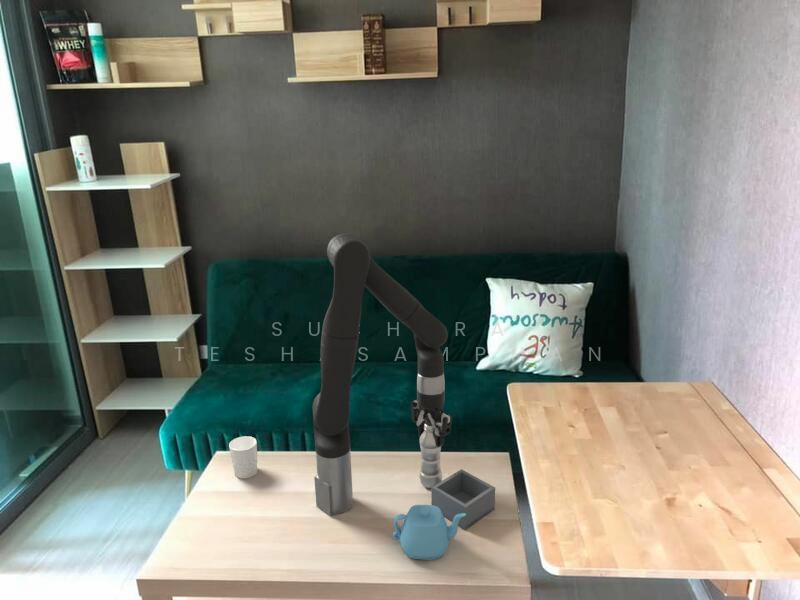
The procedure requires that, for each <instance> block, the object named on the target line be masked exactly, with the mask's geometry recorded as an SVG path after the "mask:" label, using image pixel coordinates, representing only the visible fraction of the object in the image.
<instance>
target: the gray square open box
mask: <svg viewBox="0 0 800 600" xmlns="http://www.w3.org/2000/svg"><path fill="white" fill-rule="evenodd" d="M431 505H433V506H437V507H438V508H439V509H440V510H441V512H442V514H443V516H444V518H445V520H448V521H449V522H451V524H452V523H453V519H454V517H455V516H456V515H457V514H460V513H466V515H465V516H463V517H462V518H461V519H460V520H459V523H458V528H461V529H462V530H463V531H466V530H467V529H470V527H472V526H473V525H475V524H476V523H477V522H479V521H481V520H482V519H483V518H485V517H486V516H488V515H489V514H491V513H492V512H494V511H495V507H496V487H495V486H493V485H491V484H490V483H488V482H485V481H484V480H482V479H481V478H479V477H477V476H475V475H473V474H471V473H469V472H467V471H466V470H464V469H463V468H462V469H459V470H458V471H456V472H454V473H453V474H451V475H450V476H448V477H446V478H444V479H442V481H441V482H439V483H438V484H436V485H434V486H433V487H432V488H431Z"/></svg>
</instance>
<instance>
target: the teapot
mask: <svg viewBox="0 0 800 600" xmlns="http://www.w3.org/2000/svg"><path fill="white" fill-rule="evenodd" d="M465 515H466V513H460V514H457V515H456V516H455V517H454V519H453V523H452V522H451V525H449V526H448V524H447V523H448V522H447V520H446V518H445V517H444V516H443V514H442V512H441V510H440V509H439V508H438V507H437V506H433V505H432V504H415V505H412V506H411V507H410V508H409V510H408V512H407V513H406V514H404V513H403V514H398V515H396V516H395V518H394V520H393V526H394V529H395V531H394V532H393V534H392V538H393V539H394V540H396V541H400V545H401V549H402V551H403V552H404V554H405V556H407V557H409V558H410V559H415V560H424V561H427V560H429V561H433V560H438V559H440V558H441V557H442V556H443V555H444V554H445V552H446V551H447V549H448V546H449V543H450V542H449V541H450V540H452V539H454V538H455V537H456V535H457V532H458V528H459V526H458V523H459V520H460V519H461V518H462V517H463V516H465ZM401 520H403V522H402V525H401V528H400V526H399V525H398V521H401Z"/></svg>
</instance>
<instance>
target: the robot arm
mask: <svg viewBox="0 0 800 600" xmlns="http://www.w3.org/2000/svg"><path fill="white" fill-rule="evenodd" d="M328 242H329V243H328V245H327V248H326V254H327V259H328V261H329V262H330V264H331V266H332V267H333V291H332V296H331V297H332V298H331V300H330V304H329V306H328V308H327V311H326V313H325V316H324V319H323V323H322V329H321V339H320V351H319V352H320V356H319V357H320V372H321V375H320V376H321V385H320V386H321V387H320V392H319V393H318V394H317V395H316V396H315V398H314V399H313V402H312V423H313V433H314V434H313V437H314V446H315V459H316V473H317V474H315V476H314V490H315V493H314V494H315V505H316V507H317V508H319V509H320V510H321V511H323V513H325V514H326V515H328V516H332V515H337V514H342V513H346V512H347V511H348V510H350V509H351V508H352V507H353V504H354V495H353V477H352V475H353V473H352V456H351V454H352V453H351V437H350V429H349V428H350V427H349V423H350V422H349V421H350V419H351V418H350V417H351V414H350V412H351V411H350V408H351V407H350V404H351V403H350V402H351V401H350V400H351V396H350V395H351V386H352V385H351V383H352V378H353V373H354V369H355V363H356V357H357V352H358V345H359V336H360V326H361V318H362V306H363V305H362V304H363V295H364V290H365V288H366V289H367V290H368V291H369V292H370V293H371V294H372V295H373V296H374V297H375V299H376V300H378V302H379V303H380V305H382V306H383V307H384V308H385V309H386V310H387V311H388V312H389V313H390V314H391V315H393V317H395V318H396V319H397V320H398V321H399V322H401V323H402V324H403V325H404V326H406V327H407V328H408V329H409V330H411V332H412V333H413V337H414V342H415V343H414V344H415V350H416V355H417V377H416V399H414V400H413V401H410V411H411V420H412V421H413V422H414V423H416V426H417V435H418V438H420V436H421V434H422V433H423V432H424V431H425V430H424V423H425V421H429V422H430V423H431V424H432V427H433V428H434V429H435V431H436V434H437V435H436V446H437V447H441V448H442V447H443V445H444V444H445V437H446V436H447V435H450V434H451V431H452V421H453V416H452V414H448V415H447V414H446V413H445V411H444V404H445V391H446V389H445V387H446V386H445V385H446V384H445V383H446V380H445V371H444V370H445V369H444V366H445V361H444V360H445V359H444V354H443V353H442V351H441V349H440V347H443V345H445V343H447V340H448V336H449V335H448V333H449V332H448V329H447V327H446V326H445V325H444V324H443V322H441V321H440V320H439V319H437V317H435V316H434V315H433V314H432V313H431V312H429V311H428V310H427V309H426V308H425V307H424V306H423V305H422V303H421V302H420V301H419V300H418V299H417V298H416V297H415V296H413V295H412V293H410V292H409V291H408V290H407V289H406V288H405V287H404V286H402V284H401V283H399V282H397V280H396V279H394V278H393V276H390V275H389V274H388V273H387V272H386V271H385V270H384V269H382V267H381V266H379V265H378V263H377V262H376V261H375V260H374V259H373V258H372V257H371V253H370V249H369V248H368V246H367V245H366V243H364V242H363V241H362V240H361V239H360V238H358V237H357V236H356V235H353V234H350V233H340V234H337V235H335V236H333V237H332V238H331V239H330V241H328ZM436 422H437V424H436Z"/></svg>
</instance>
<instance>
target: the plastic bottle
mask: <svg viewBox="0 0 800 600" xmlns="http://www.w3.org/2000/svg"><path fill="white" fill-rule="evenodd" d="M436 424H438V422H436ZM424 430H425V431H424V432H423V433H422V434H421V436H420V437H419V447H420V457H421V465H420V472H419V480H420V483H421V485H422V486H423V487H425V488H427V489H432V487H433V486H434V485H436V484H438V483H439V482H441V481H443V473H442V469H441V450H442V446H441V447H437V446H436V435H437V434H436V431H435V429H434V428H433V427H432V424H431V423H430V422H429V421H425V423H424Z"/></svg>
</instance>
